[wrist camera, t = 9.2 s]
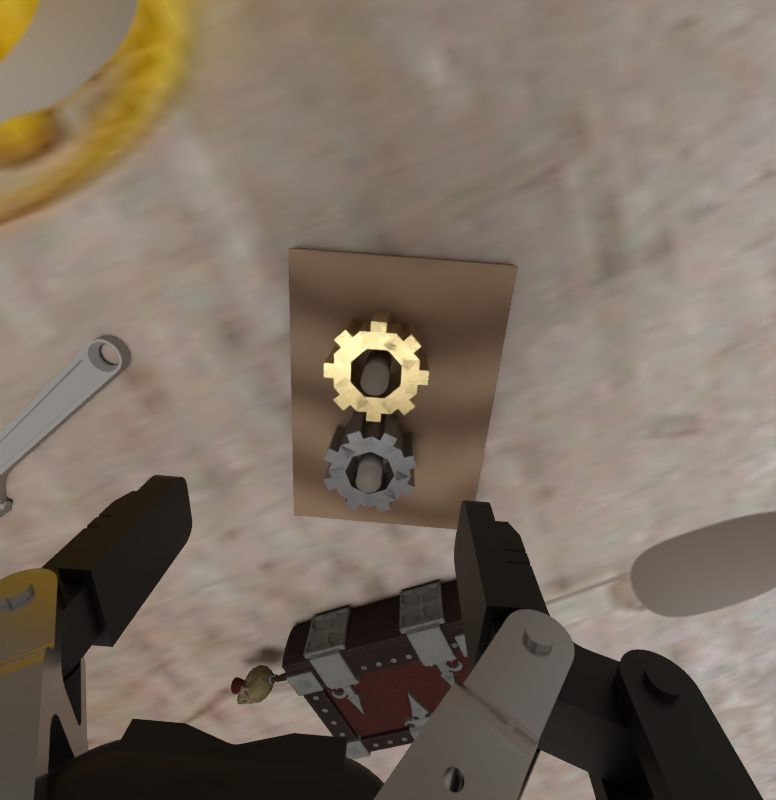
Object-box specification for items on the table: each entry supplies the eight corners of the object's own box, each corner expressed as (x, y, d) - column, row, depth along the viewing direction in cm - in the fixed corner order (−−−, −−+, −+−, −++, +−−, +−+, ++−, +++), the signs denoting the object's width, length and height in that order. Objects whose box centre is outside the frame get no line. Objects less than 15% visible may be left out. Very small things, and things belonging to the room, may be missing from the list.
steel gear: (319, 422, 29) (308, 445, 26) (401, 398, 28) (400, 419, 25) (349, 491, 32) (342, 521, 28) (426, 471, 31) (428, 500, 27)
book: (515, 673, 41) (529, 729, 36) (297, 723, 46) (284, 779, 41) (468, 567, 36) (477, 616, 32) (228, 635, 41) (205, 687, 36)
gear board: (294, 247, 26) (265, 251, 21) (511, 264, 26) (539, 272, 21) (298, 503, 34) (277, 556, 28) (467, 518, 34) (478, 574, 28)
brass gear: (334, 307, 26) (324, 317, 23) (430, 314, 26) (434, 326, 23) (332, 396, 29) (323, 417, 25) (421, 403, 29) (423, 425, 25)
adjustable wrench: (114, 325, 30) (97, 330, 28) (176, 395, 31) (164, 403, 30) (-82, 480, 35) (-106, 492, 34) (-20, 531, 37) (-40, 545, 36)
